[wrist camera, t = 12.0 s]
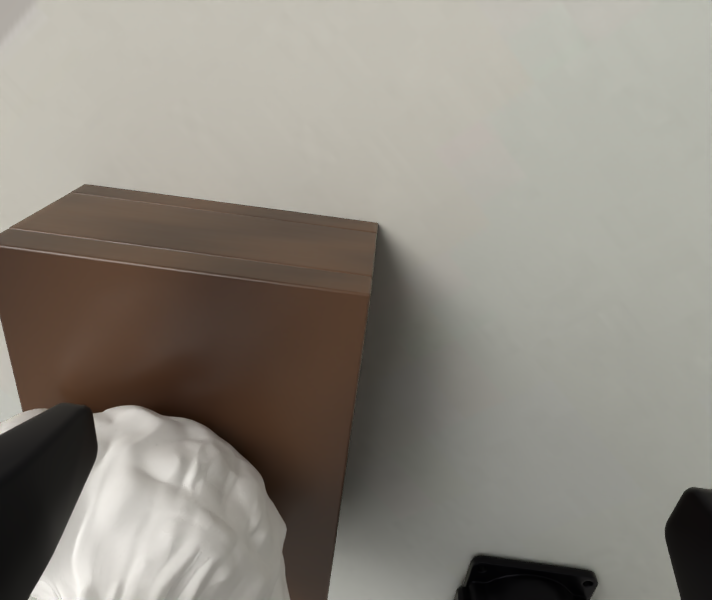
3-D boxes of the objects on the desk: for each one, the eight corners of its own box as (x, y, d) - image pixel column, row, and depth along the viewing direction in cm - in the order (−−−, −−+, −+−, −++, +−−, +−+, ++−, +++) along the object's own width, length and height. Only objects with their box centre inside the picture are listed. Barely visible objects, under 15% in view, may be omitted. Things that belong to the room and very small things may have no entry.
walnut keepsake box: (378, 222, 20) (371, 294, 15) (339, 502, 27) (325, 614, 22) (84, 183, 20) (-20, 242, 15) (122, 472, 27) (61, 577, 22)
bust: (319, 508, 23) (493, 706, 12) (187, 673, 21) (262, 1069, 10) (85, 311, 19) (52, 357, 8) (-105, 490, 17) (-448, 835, 6)
